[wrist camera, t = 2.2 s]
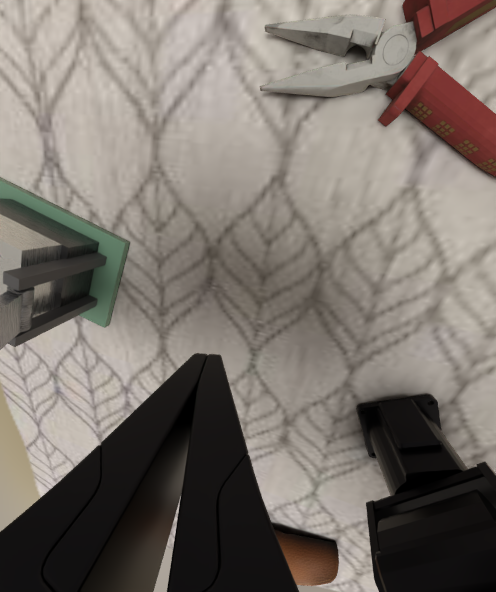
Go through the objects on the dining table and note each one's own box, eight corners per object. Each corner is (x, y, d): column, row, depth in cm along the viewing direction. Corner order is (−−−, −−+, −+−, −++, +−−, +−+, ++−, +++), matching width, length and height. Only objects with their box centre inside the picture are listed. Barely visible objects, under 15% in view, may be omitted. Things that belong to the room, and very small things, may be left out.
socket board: (129, 242, 20) (30, 262, 12) (109, 324, 23) (21, 381, 15) (-11, 171, 19) (-204, 146, 12) (-11, 265, 23) (-161, 294, 15)
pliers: (273, -63, 13) (270, -127, 10) (720, -90, 10) (852, -181, 8) (256, 171, 17) (251, 165, 14) (573, 189, 14) (630, 185, 12)
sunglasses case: (196, 536, 34) (181, 584, 27) (208, 483, 35) (196, 517, 28) (320, 572, 32) (335, 632, 26) (327, 516, 33) (344, 559, 27)
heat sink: (99, 242, 19) (29, 254, 14) (86, 309, 22) (22, 340, 17) (12, 198, 19) (-93, 194, 14) (9, 271, 22) (-80, 291, 16)
